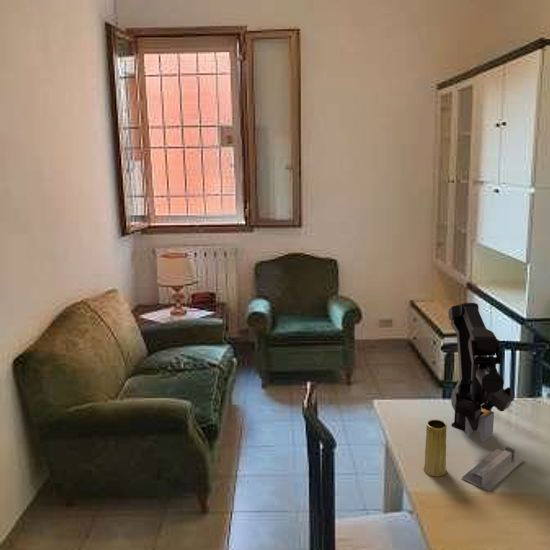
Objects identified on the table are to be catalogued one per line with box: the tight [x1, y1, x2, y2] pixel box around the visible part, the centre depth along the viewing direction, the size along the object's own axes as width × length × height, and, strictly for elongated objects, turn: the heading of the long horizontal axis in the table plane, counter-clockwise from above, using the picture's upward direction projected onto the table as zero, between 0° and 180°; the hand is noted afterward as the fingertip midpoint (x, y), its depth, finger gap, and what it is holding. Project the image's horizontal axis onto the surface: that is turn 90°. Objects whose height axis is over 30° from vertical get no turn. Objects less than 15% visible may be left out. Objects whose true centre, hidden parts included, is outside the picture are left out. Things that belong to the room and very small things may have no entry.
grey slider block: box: [464, 408, 495, 442], centre depth 163 cm, size 6×5×7 cm
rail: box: [461, 446, 525, 493], centre depth 156 cm, size 8×20×3 cm, turn 133°
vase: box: [423, 419, 447, 477], centre depth 155 cm, size 6×6×14 cm
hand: (479, 427), depth 164 cm, fingers closed on grey slider block, 5 cm apart
